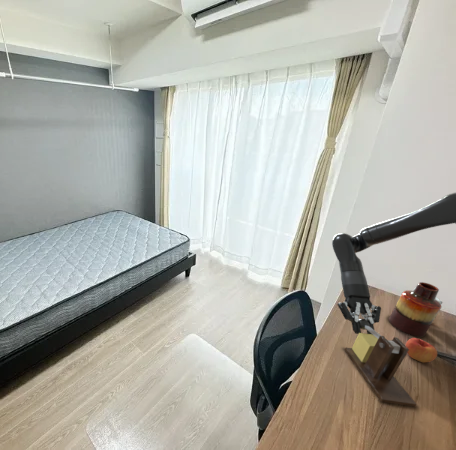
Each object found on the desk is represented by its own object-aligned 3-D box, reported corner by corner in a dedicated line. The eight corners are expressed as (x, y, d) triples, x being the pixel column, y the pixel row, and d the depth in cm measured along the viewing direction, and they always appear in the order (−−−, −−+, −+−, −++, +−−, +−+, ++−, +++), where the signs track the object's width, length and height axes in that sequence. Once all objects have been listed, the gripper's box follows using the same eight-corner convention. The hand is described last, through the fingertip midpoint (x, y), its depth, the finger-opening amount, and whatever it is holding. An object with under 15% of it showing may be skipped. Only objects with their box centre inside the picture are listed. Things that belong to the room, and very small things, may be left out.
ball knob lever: (353, 325, 88) (355, 316, 87) (363, 326, 88) (365, 317, 87) (387, 354, 73) (390, 343, 72) (400, 355, 73) (403, 345, 72)
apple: (432, 371, 81) (444, 354, 78) (403, 359, 85) (413, 342, 82) (427, 356, 87) (438, 340, 84) (400, 345, 91) (409, 329, 88)
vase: (427, 342, 93) (454, 299, 85) (389, 328, 98) (411, 287, 91) (421, 326, 101) (445, 285, 93) (386, 314, 106) (406, 274, 99)
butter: (366, 350, 86) (374, 334, 83) (377, 364, 81) (386, 347, 78) (351, 348, 87) (359, 332, 84) (361, 362, 82) (370, 345, 79)
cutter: (344, 350, 88) (358, 318, 82) (370, 354, 87) (387, 322, 81) (380, 402, 71) (402, 367, 65) (414, 407, 70) (439, 372, 64)
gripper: (341, 281, 88) (350, 332, 82) (382, 285, 87) (395, 337, 80) (328, 284, 95) (336, 332, 89) (367, 288, 94) (377, 336, 87)
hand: (364, 334), depth 85 cm, fingers closed on ball knob lever, 3 cm apart
